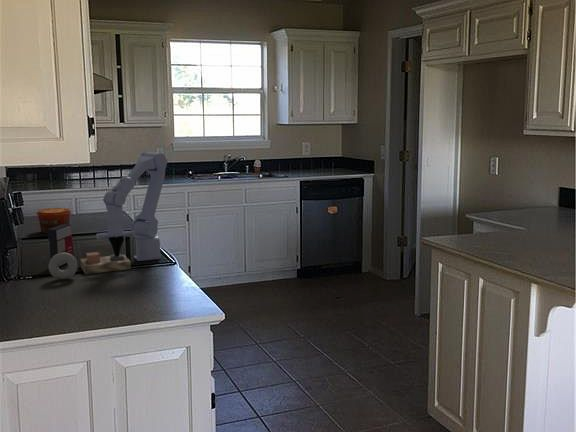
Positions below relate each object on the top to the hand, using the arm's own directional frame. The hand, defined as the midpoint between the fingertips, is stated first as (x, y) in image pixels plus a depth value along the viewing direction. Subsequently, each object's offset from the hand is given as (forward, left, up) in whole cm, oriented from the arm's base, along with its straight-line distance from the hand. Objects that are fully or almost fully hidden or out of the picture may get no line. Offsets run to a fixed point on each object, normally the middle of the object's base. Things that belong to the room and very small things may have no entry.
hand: (116, 255), depth 238 cm
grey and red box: (+19, -13, -4) cm, 23 cm away
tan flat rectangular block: (+4, 0, -4) cm, 6 cm away
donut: (+21, +10, -4) cm, 24 cm away
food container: (+15, -79, -5) cm, 81 cm away
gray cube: (0, 0, -4) cm, 4 cm away
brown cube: (+9, 0, -2) cm, 9 cm away
